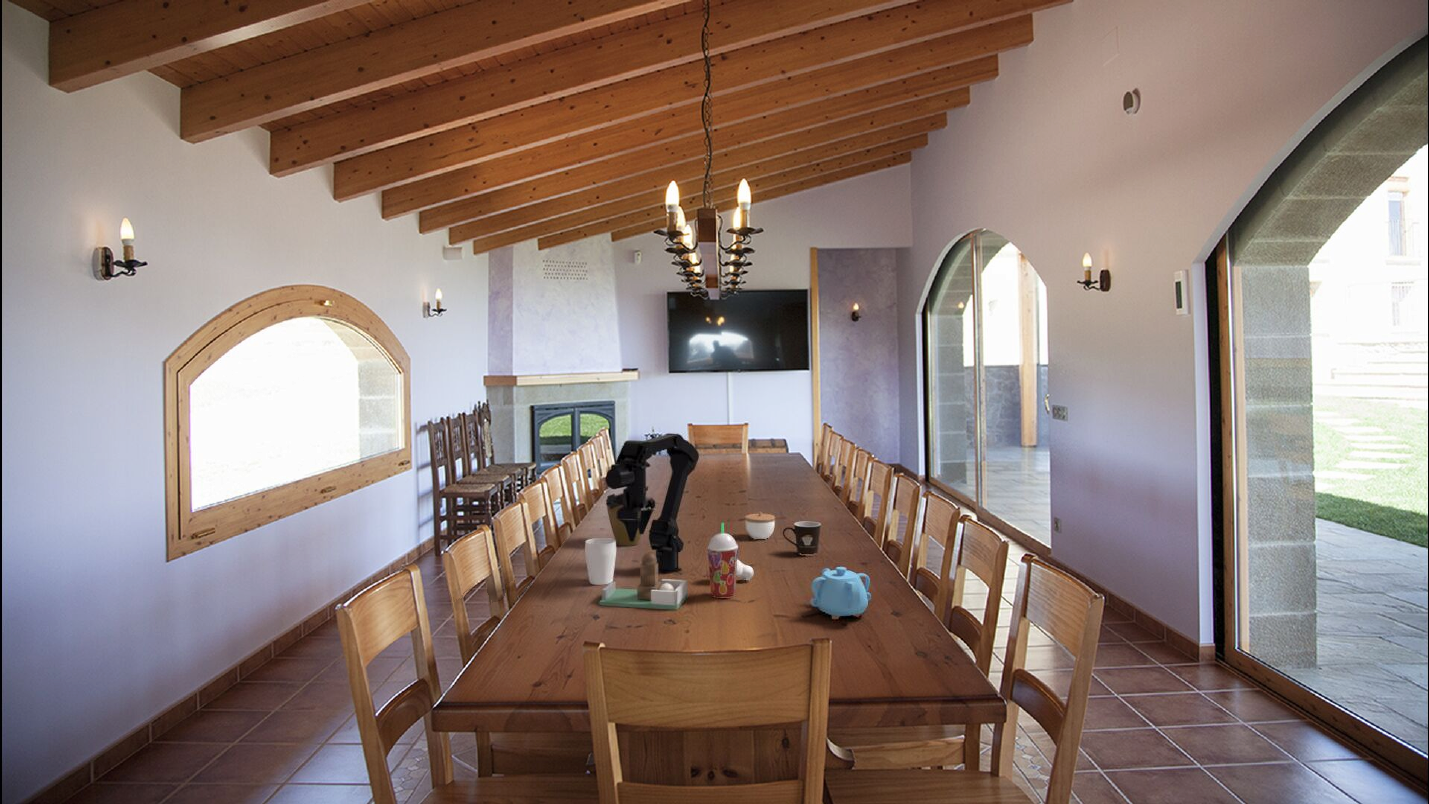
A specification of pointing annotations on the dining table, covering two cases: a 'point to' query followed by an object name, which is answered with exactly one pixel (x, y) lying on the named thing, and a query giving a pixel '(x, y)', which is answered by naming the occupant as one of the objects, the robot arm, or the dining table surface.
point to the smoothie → (722, 564)
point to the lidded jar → (760, 525)
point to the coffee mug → (806, 536)
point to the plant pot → (621, 529)
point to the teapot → (840, 592)
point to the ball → (666, 587)
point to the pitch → (658, 599)
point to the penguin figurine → (744, 571)
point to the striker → (648, 577)
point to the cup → (600, 560)
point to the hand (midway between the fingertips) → (636, 537)
